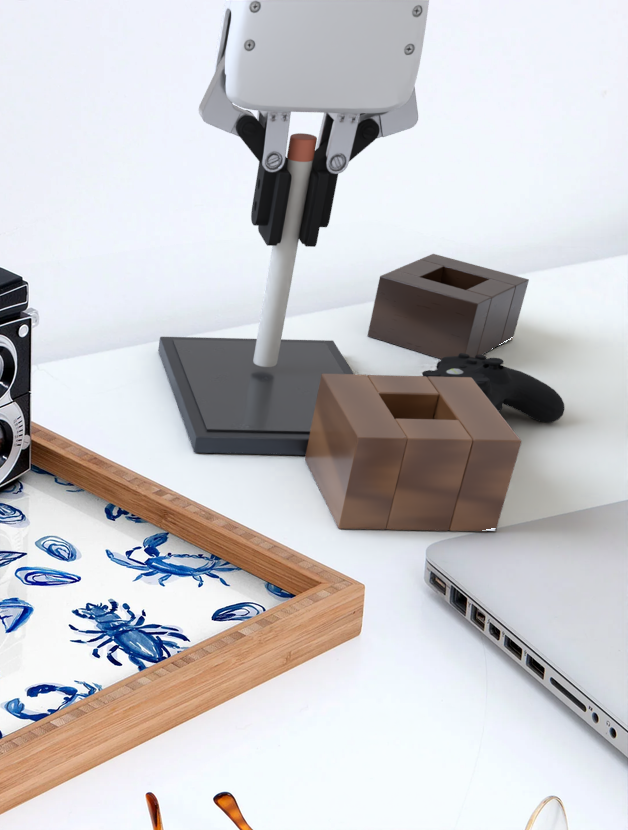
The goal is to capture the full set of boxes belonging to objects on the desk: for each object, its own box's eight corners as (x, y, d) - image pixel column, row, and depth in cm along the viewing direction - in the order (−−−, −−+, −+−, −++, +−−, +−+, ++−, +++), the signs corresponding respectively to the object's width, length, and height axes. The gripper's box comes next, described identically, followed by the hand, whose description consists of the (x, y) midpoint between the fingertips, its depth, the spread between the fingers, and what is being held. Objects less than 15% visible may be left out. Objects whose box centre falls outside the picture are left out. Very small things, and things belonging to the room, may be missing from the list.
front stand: (449, 463, 80) (472, 376, 77) (496, 532, 74) (522, 440, 71) (304, 459, 80) (321, 373, 77) (338, 528, 74) (358, 437, 71)
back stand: (419, 311, 100) (433, 253, 97) (513, 339, 96) (529, 279, 93) (366, 336, 96) (379, 275, 93) (462, 366, 92) (477, 303, 89)
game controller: (510, 454, 78) (426, 355, 79) (442, 507, 82) (363, 412, 83) (579, 403, 84) (501, 311, 85) (513, 454, 88) (438, 366, 89)
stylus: (274, 358, 88) (314, 133, 80) (279, 368, 87) (319, 140, 79) (250, 358, 88) (288, 132, 80) (255, 367, 87) (293, 139, 79)
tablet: (330, 355, 93) (333, 338, 92) (392, 457, 81) (397, 439, 80) (157, 351, 93) (160, 334, 92) (194, 453, 81) (196, 435, 80)
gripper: (483, -138, 76) (405, 222, 86) (182, -146, 75) (141, 215, 86) (532, -122, 69) (441, 264, 80) (205, -130, 69) (158, 256, 80)
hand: (286, 236), depth 83 cm, fingers closed on stylus, 1 cm apart
